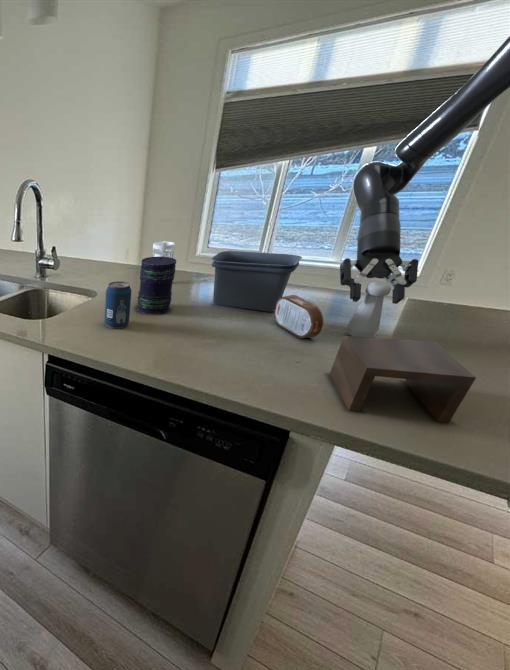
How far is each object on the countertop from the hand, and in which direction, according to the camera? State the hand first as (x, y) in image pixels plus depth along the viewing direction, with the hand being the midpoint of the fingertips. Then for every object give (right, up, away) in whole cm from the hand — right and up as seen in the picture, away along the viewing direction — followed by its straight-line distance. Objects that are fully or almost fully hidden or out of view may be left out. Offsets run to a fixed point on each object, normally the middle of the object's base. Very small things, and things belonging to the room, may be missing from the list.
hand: (376, 301), depth 93 cm
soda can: (-54, -2, +24) cm, 59 cm away
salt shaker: (+1, -7, +6) cm, 10 cm away
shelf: (-14, -22, -16) cm, 30 cm away
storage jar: (-39, +4, +33) cm, 51 cm away
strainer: (-29, +18, +55) cm, 64 cm away
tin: (-12, -6, +11) cm, 17 cm away
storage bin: (-12, +5, +30) cm, 33 cm away
